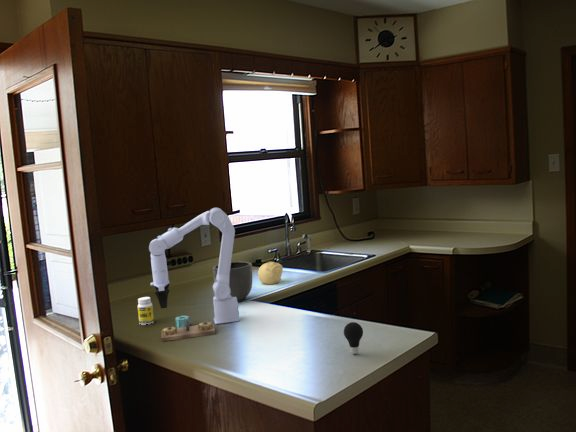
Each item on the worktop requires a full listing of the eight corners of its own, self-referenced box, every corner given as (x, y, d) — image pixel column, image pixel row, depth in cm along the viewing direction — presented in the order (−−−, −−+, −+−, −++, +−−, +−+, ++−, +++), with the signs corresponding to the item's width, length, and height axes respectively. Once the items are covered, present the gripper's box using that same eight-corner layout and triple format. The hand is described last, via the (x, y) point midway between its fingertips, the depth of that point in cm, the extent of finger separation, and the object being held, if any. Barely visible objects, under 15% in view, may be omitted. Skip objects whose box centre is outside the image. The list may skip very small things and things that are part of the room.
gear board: (212, 325, 209) (211, 313, 208) (215, 333, 199) (213, 320, 199) (161, 333, 205) (160, 320, 204) (161, 341, 195) (160, 328, 195)
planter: (210, 306, 238) (206, 270, 237) (224, 295, 255) (220, 261, 253) (247, 305, 234) (244, 268, 233) (259, 295, 251) (256, 260, 249)
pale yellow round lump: (275, 286, 265) (273, 264, 264) (254, 285, 272) (252, 263, 270) (287, 280, 275) (285, 259, 274) (266, 279, 281) (265, 259, 280)
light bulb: (362, 350, 171) (360, 319, 169) (366, 357, 165) (363, 324, 164) (344, 352, 170) (341, 320, 169) (346, 358, 165) (344, 326, 164)
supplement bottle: (139, 326, 217) (136, 300, 216) (139, 322, 222) (136, 297, 221) (154, 323, 218) (151, 298, 217) (154, 320, 224) (151, 295, 223)
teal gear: (189, 322, 216) (188, 314, 215) (190, 326, 210) (189, 318, 210) (175, 324, 214) (175, 316, 214) (176, 328, 209) (175, 320, 209)
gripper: (149, 268, 214) (153, 302, 216) (148, 275, 200) (152, 311, 202) (167, 266, 216) (171, 299, 217) (168, 273, 202) (172, 308, 203)
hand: (163, 305), depth 210 cm, fingers open, 7 cm apart
